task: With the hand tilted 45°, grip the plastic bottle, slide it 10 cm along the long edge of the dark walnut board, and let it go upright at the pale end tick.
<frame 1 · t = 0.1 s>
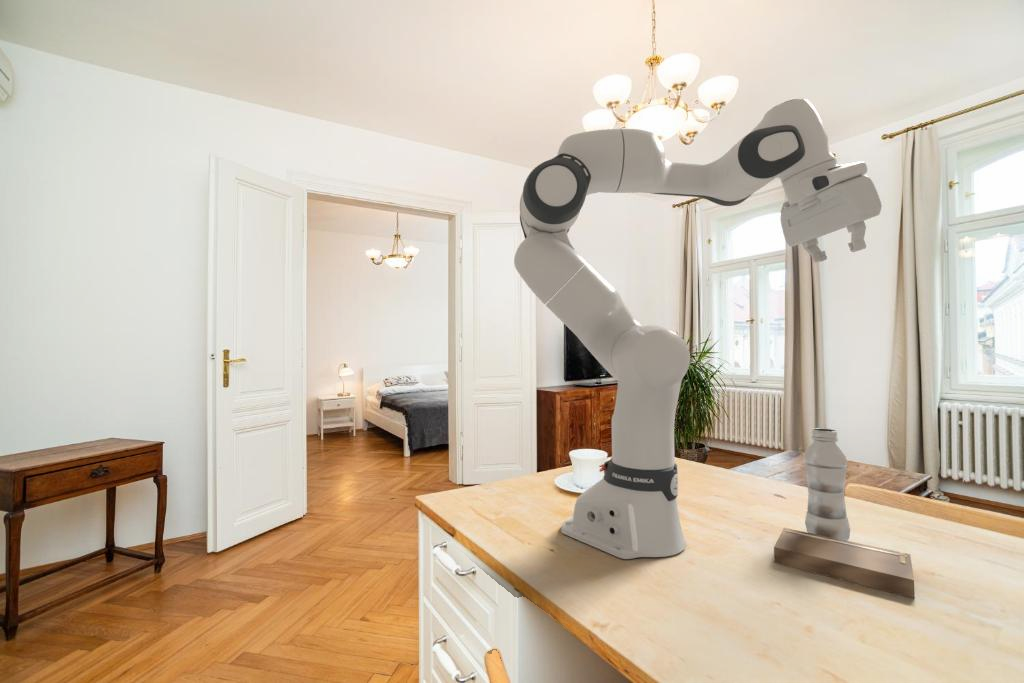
hand: (838, 256, 83), 52 cm above the kitchen island, tool tilted 20°, fingers open, 8 cm apart
plastic bottle: (827, 542, 80), on the kitchen island
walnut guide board: (841, 566, 71), on the kitchen island
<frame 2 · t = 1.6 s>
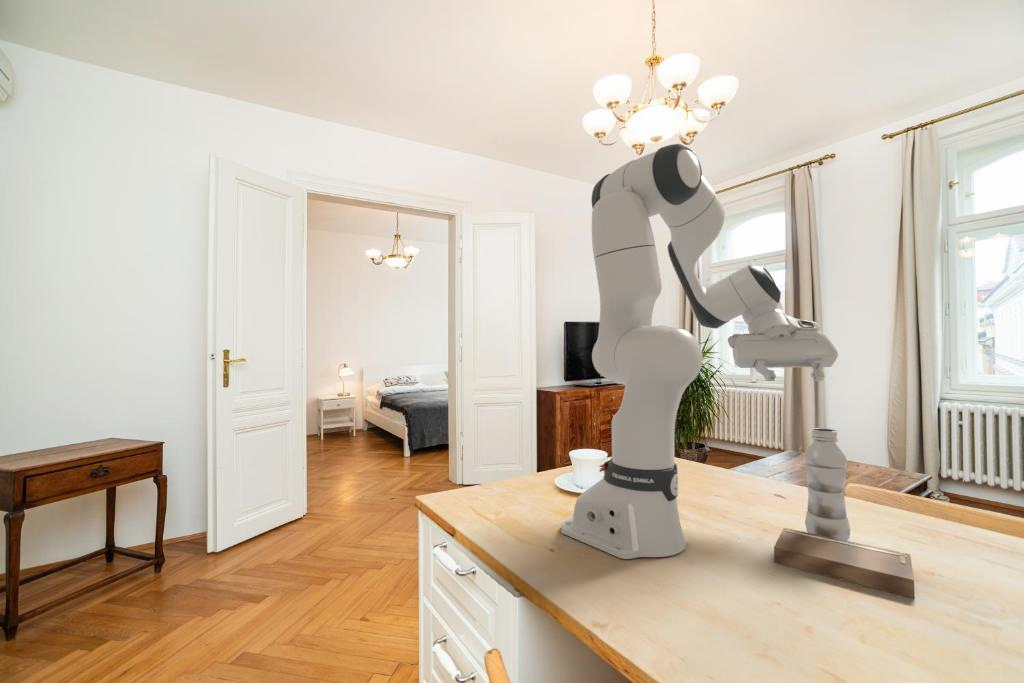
hand: (795, 379, 93), 28 cm above the kitchen island, tool tilted 45°, fingers open, 8 cm apart
nothing on the kitchen island moved.
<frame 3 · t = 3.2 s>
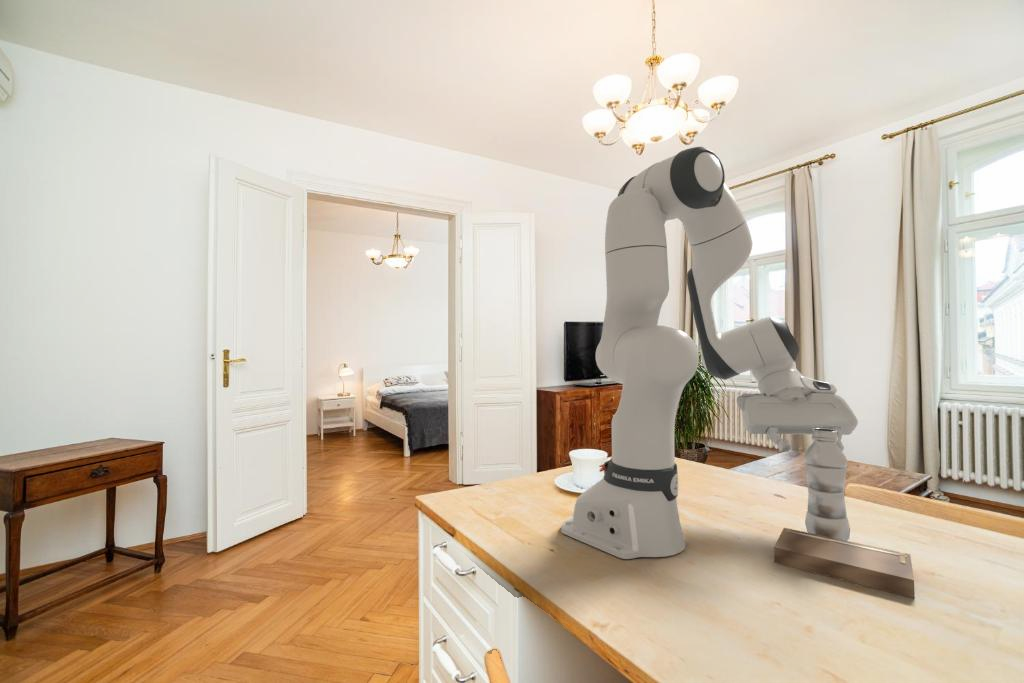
hand: (811, 450, 85), 15 cm above the kitchen island, tool tilted 45°, fingers open, 8 cm apart
nothing on the kitchen island moved.
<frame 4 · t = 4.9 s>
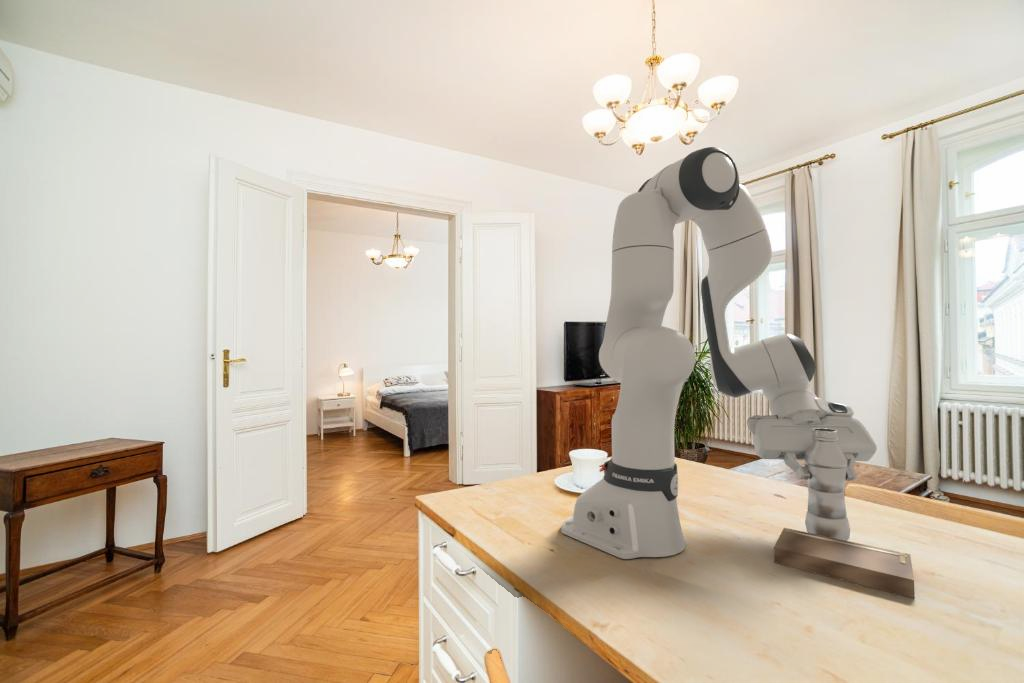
hand: (827, 478, 80), 11 cm above the kitchen island, tool tilted 45°, fingers closed on plastic bottle, 6 cm apart
plastic bottle: (827, 542, 80), on the kitchen island, touching gripper
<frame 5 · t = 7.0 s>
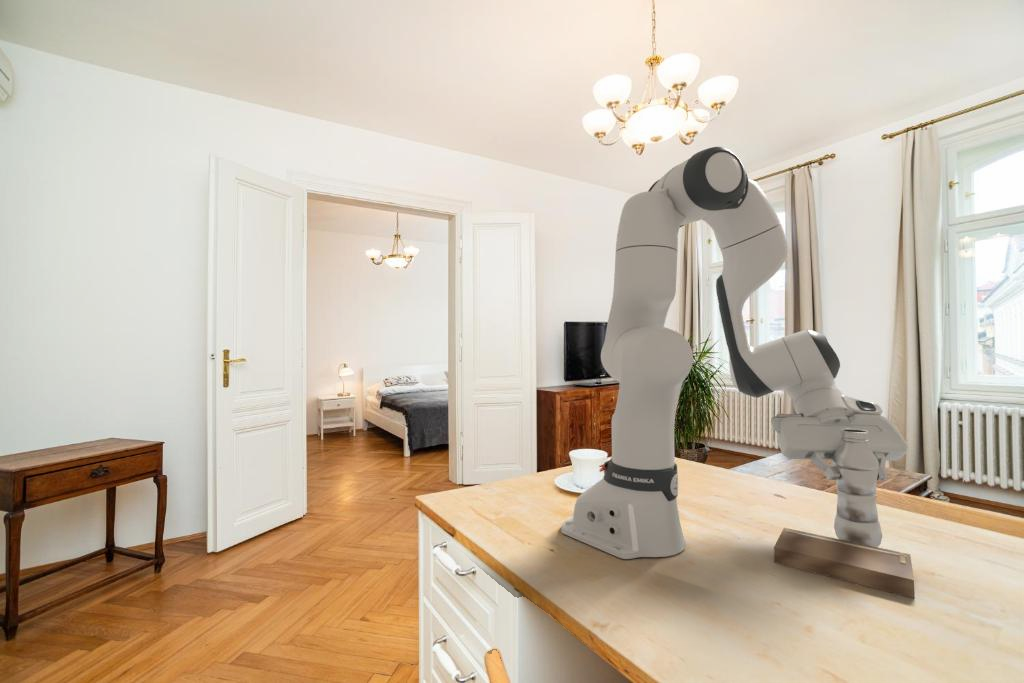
hand: (858, 478, 77), 12 cm above the kitchen island, tool tilted 45°, fingers closed on plastic bottle, 6 cm apart
plastic bottle: (857, 546, 78), on the kitchen island, touching gripper
when the fingers open (12 cm above the kitchen island, at t = 9.5 s): plastic bottle stays where it is, on the kitchen island.
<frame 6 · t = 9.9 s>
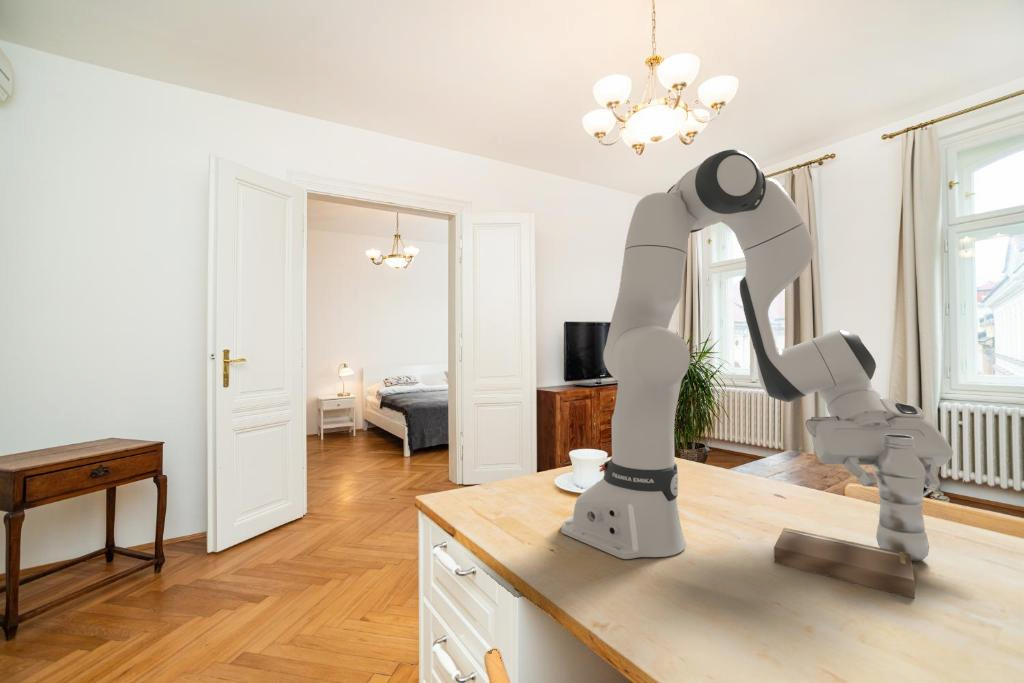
hand: (901, 485, 74), 12 cm above the kitchen island, tool tilted 45°, fingers open, 8 cm apart
plastic bottle: (902, 558, 74), on the kitchen island
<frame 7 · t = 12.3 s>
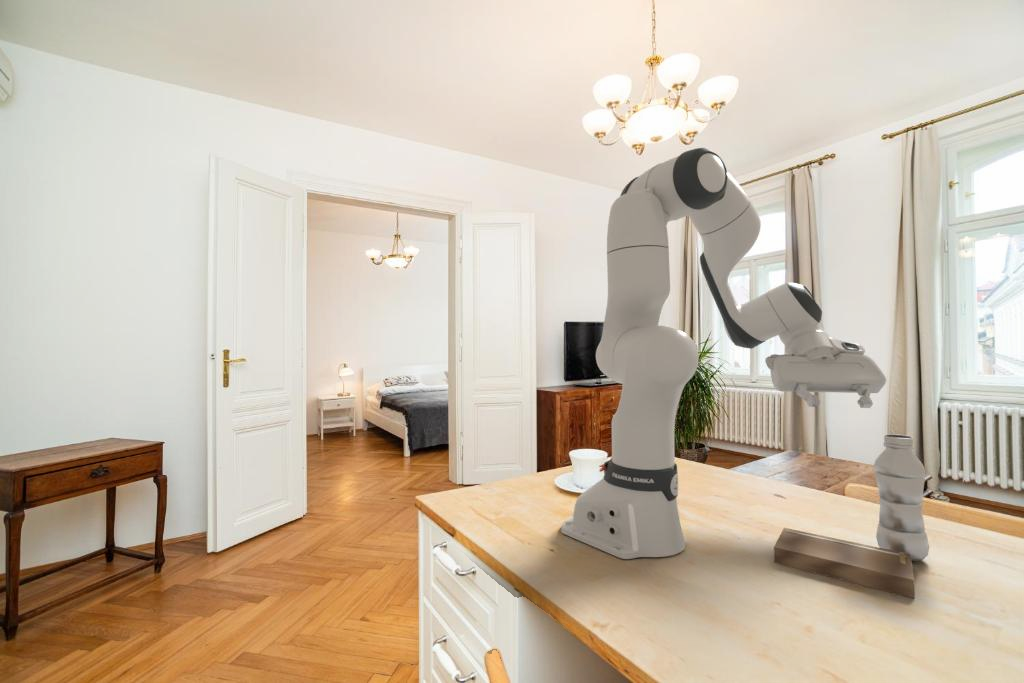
hand: (840, 405, 87), 24 cm above the kitchen island, tool tilted 45°, fingers open, 8 cm apart
nothing on the kitchen island moved.
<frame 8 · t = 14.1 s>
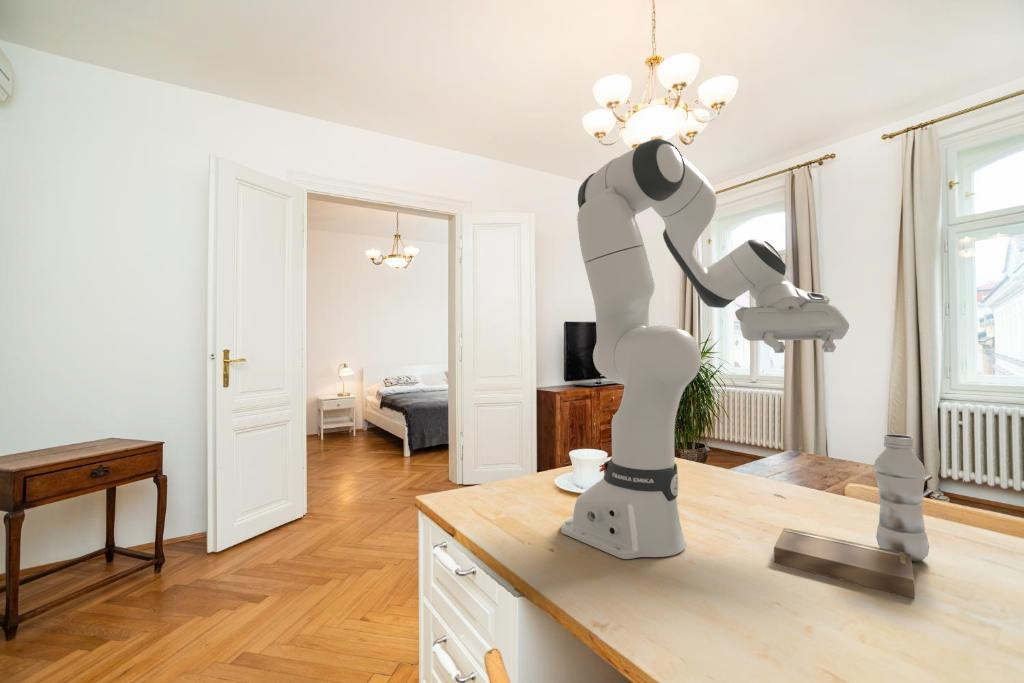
hand: (805, 350, 91), 34 cm above the kitchen island, tool tilted 45°, fingers open, 8 cm apart
nothing on the kitchen island moved.
at the end: plastic bottle 0.3 cm from the target spot, on the kitchen island; plastic bottle tilted 0°; the gripper is holding nothing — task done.
